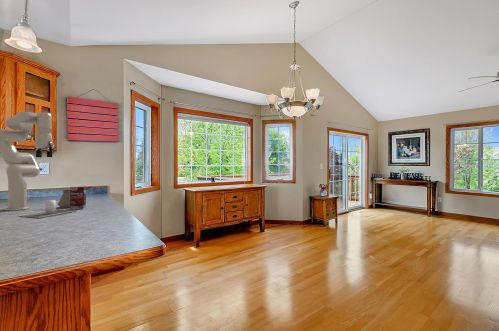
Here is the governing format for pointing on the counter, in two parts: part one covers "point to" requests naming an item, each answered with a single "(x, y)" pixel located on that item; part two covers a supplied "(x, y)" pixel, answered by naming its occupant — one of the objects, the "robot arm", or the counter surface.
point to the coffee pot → (66, 199)
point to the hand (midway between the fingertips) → (44, 157)
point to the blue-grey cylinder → (51, 207)
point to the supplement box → (77, 198)
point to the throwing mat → (43, 214)
